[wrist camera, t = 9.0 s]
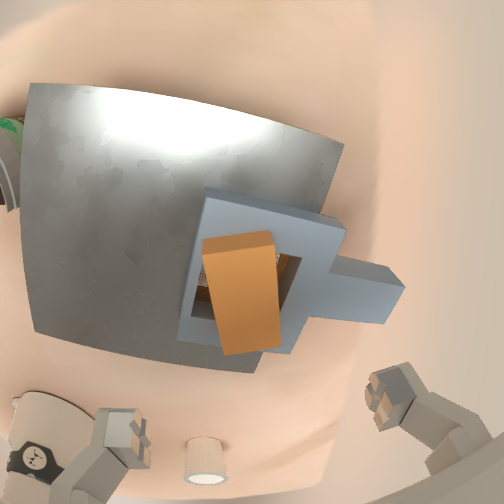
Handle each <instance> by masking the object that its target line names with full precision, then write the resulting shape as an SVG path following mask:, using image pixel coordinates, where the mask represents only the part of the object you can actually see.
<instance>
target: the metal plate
mask: <svg viewBox="0 0 504 504" xmlns="http://www.w3.org/2000/svg"><path fill="white" fill-rule="evenodd" d="M343 147H344V144H342V143H340V142H337V141H335V140H332V139H329V138H327V137H324V136H321V135H318V134H315V133H312V132H309V131H306V130H303V129H300V128H297V127H294V126H290V125H287V124H284V123H281V122H277V121H274V120H270V119H267V118H263V117H260V116H256V115H252V114H249V113H245V112H241V111H237V110H233V109H229V108H225V107H220V106H216V105H212V104H207V103H203V102H198V101H193V100H188V99H183V98H178V97H172V96H166V95H161V94H155V93H148V92H141V91H134V90H127V89H119V88H110V87H101V86H90V85H77V84H59V83H30V88H29V93H28V99H27V106H26V113H25V120H24V129H23V138H22V150H21V167H20V223H21V240H22V252H23V262H24V271H25V278H26V285H27V292H28V298H29V304H30V309H31V315H32V320H33V325H34V329H35V332H38V333H41V334H44V335H48V336H51V337H55V338H58V339H62V340H65V341H69V342H73V343H77V344H80V345H84V346H88V347H93V348H97V349H101V350H105V351H110V352H114V353H119V354H124V355H128V356H133V357H139V358H144V359H149V360H155V361H160V362H166V363H172V364H179V365H185V366H192V367H200V368H207V369H215V370H224V371H233V372H243V373H254V371H255V369H256V367H257V365H258V363H259V360H260V358H261V356H262V354H263V352H262V351H253V352H246V353H239V354H232V355H225V356H224V353H223V349H222V347H219V346H212V345H205V344H198V343H191V342H185V341H179V340H177V330H178V321H179V316H180V311H181V305H182V300H183V295H184V290H185V285H186V280H187V275H188V270H189V265H190V260H191V256H192V251H193V246H194V242H195V237H196V233H197V228H198V224H199V220H200V215H201V211H202V207H203V203H204V198H205V194H206V190H207V187H209V188H213V189H218V190H222V191H227V192H231V193H236V194H240V195H244V196H249V197H253V198H257V199H262V200H266V201H270V202H274V203H278V204H282V205H286V206H290V207H294V208H298V209H302V210H306V211H310V212H314V213H317V214H320V211H321V209H322V206H323V203H324V201H325V198H326V195H327V192H328V190H329V187H330V184H331V181H332V179H333V176H334V173H335V170H336V167H337V164H338V162H339V159H340V156H341V153H342V150H343ZM290 256H291V255H287V254H282V253H281V255H280V258H279V260H278V263H277V266H276V268H277V283H278V287H279V285H280V282H281V280H282V277H283V274H284V272H285V269H286V267H287V264H288V261H289V259H290ZM200 273H204V274H206V273H205V269H204V264H203V263H202V267H201V272H200ZM194 300H197V301H203V302H209V303H212V301H211V297H210V292H209V287H203V286H198V285H197V289H196V294H195V298H194Z"/></svg>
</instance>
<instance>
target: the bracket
mask: <svg viewBox="0 0 504 504" xmlns="http://www.w3.org/2000/svg"><path fill="white" fill-rule="evenodd" d="M262 230H269V232H270V234H271V236H272V239H273V241H274V244H275V252H277V253H282V254H287V255H291V256H290V259H289V261H288V264H287V267H286V269H285V272H284V274H283V277H282V280H281V282H280V285H279V287H278V299H279V315H280V332H281V347H278V348H272V349H266V350H259V351H262V352H272V353H283V354H290V352H291V350H292V348H293V346H294V345H295V343H296V341H297V339H298V337H299V335H300V333H301V331H302V328H303V326H304V324H305V322H306V320H307V318H308V316H311V317H319V318H328V319H337V320H346V321H355V322H365V323H377V324H384V323H385V322H386V320H387V318H388V317H389V315H390V313H391V312H392V310H393V308H394V307H395V305H396V303H397V301H398V300H399V298H400V296H401V294H402V292H403V291H404V289H405V286H404V285H403V284H402V282H401V281H400V280H399V279H398V278H397V277H396V276H395V274H394V273H393V272H392V271H391V270H390V269H389V267H386V266H383V265H378V264H374V263H369V262H365V261H360V260H356V259H351V258H346V257H342V256H337V253H338V250H339V248H340V246H341V243H342V241H343V239H344V236H345V234H346V231H347V230H346V229H345V228H344V227H343V225H342V224H341V223H340V222H339V221H338V220H337V219H336V218H332V217H329V216H325V215H321V214H317V213H314V212H310V211H306V210H302V209H298V208H294V207H290V206H286V205H282V204H278V203H274V202H270V201H266V200H262V199H257V198H253V197H249V196H244V195H240V194H236V193H231V192H227V191H222V190H218V189H213V188H209V187H207V190H206V194H205V198H204V203H203V207H202V211H201V215H200V220H199V224H198V228H197V233H196V237H195V242H194V246H193V251H192V256H191V260H190V265H189V270H188V275H187V280H186V285H185V290H184V295H183V300H182V305H181V311H180V316H179V321H178V330H177V340H179V341H185V342H191V343H198V344H205V345H212V346H219V347H222V345H221V341H220V336H219V332H218V328H217V323H216V319H215V315H214V310H213V306H212V303H209V302H203V301H197V300H194V298H195V294H196V289H197V285H198V280H199V276H200V272H201V267H202V263H203V259H202V240H203V239H207V238H214V237H220V236H227V235H234V234H241V233H248V232H255V231H262Z"/></svg>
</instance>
